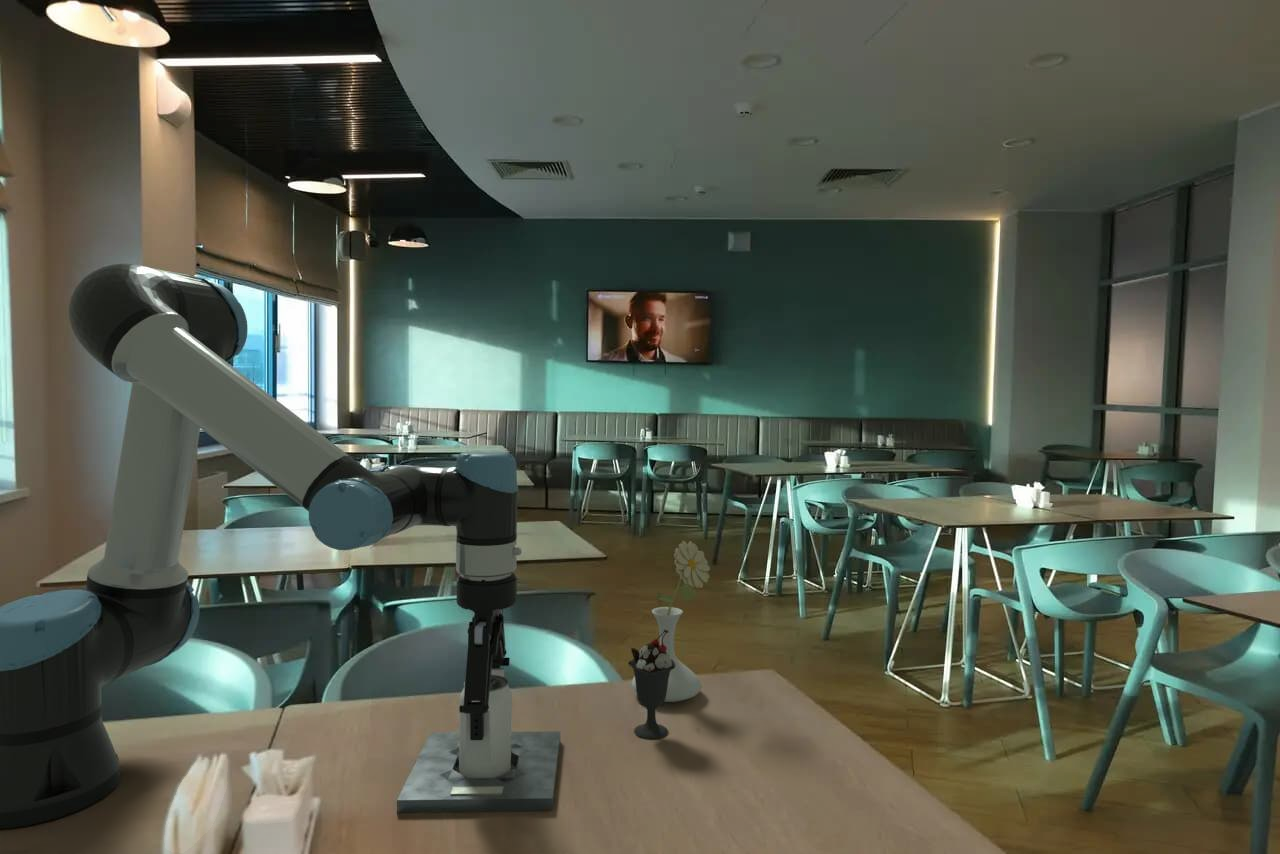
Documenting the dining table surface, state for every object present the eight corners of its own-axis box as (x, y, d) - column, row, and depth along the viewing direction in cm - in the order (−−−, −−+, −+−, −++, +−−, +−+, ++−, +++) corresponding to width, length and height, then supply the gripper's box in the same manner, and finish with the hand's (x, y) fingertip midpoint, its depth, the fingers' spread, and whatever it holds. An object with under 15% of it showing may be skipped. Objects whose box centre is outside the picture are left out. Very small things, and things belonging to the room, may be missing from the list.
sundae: (683, 734, 113) (685, 631, 112) (645, 746, 109) (646, 639, 109) (657, 718, 119) (658, 620, 118) (619, 728, 115) (620, 627, 114)
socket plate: (396, 812, 91) (396, 798, 91) (430, 742, 109) (430, 731, 109) (552, 810, 92) (552, 796, 92) (560, 741, 110) (560, 729, 110)
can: (516, 764, 104) (517, 674, 103) (502, 789, 97) (504, 693, 97) (468, 761, 104) (469, 672, 104) (451, 785, 98) (452, 690, 97)
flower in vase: (651, 714, 120) (654, 552, 119) (619, 688, 130) (620, 538, 129) (723, 699, 126) (726, 545, 125) (686, 676, 136) (689, 533, 135)
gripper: (504, 600, 87) (503, 786, 88) (526, 553, 112) (525, 698, 113) (436, 600, 87) (436, 787, 88) (473, 552, 112) (472, 699, 113)
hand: (486, 738), depth 101 cm, fingers open, 13 cm apart
